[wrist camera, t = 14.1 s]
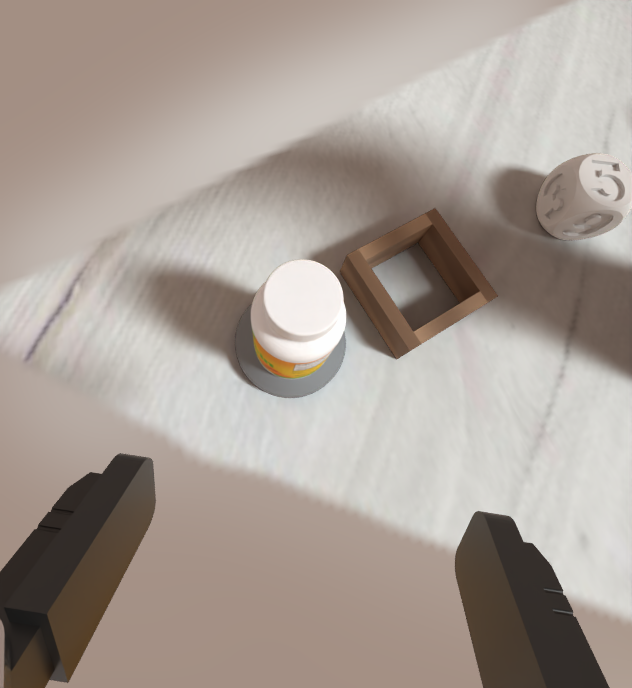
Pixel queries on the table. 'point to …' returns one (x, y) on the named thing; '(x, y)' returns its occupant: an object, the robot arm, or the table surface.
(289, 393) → the rubber coaster
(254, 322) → the supplement bottle
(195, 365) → the table surface
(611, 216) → the die
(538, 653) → the robot arm
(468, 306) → the walnut collar
